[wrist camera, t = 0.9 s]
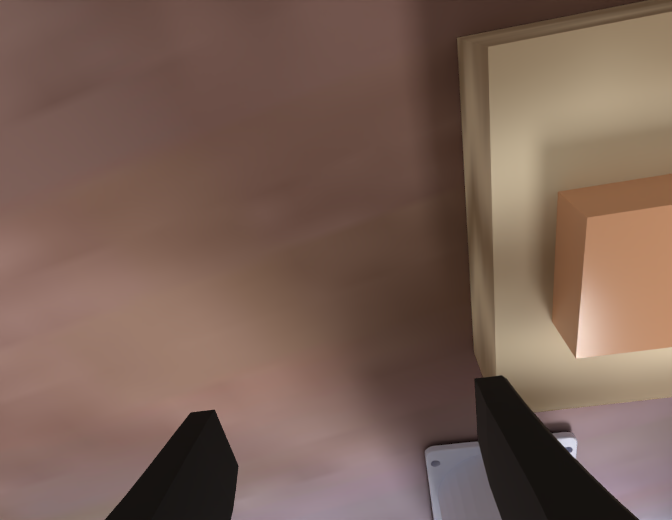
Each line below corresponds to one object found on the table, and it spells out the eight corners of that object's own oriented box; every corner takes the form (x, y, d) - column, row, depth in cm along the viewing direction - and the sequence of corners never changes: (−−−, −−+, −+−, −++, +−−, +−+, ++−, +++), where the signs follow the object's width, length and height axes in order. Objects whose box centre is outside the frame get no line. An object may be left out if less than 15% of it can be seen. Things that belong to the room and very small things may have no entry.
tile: (700, 302, 16) (743, 338, 14) (551, 321, 17) (576, 358, 15) (731, 164, 14) (787, 187, 12) (557, 191, 14) (587, 217, 13)
